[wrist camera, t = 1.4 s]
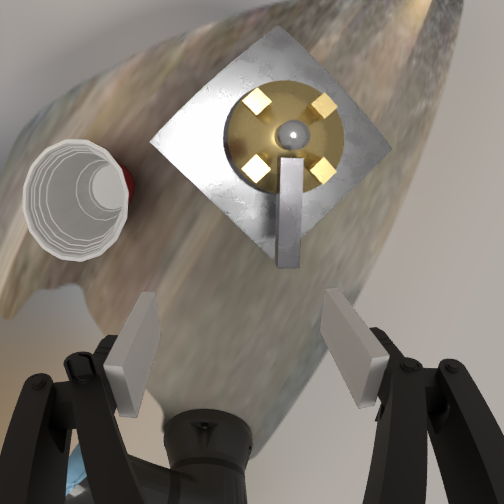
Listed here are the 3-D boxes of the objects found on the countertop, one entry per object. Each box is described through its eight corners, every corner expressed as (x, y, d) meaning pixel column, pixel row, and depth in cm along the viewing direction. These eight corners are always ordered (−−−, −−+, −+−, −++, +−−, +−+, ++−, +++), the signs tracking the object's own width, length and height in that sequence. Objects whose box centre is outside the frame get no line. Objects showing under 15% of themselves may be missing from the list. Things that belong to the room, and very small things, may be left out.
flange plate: (273, 258, 39) (278, 269, 35) (152, 142, 34) (143, 140, 30) (386, 148, 36) (402, 149, 32) (276, 29, 30) (282, 16, 27)
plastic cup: (161, 226, 37) (134, 259, 25) (82, 234, 36) (33, 266, 25) (153, 135, 33) (120, 127, 22) (72, 149, 33) (16, 151, 21)
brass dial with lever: (228, 85, 29) (229, 69, 23) (334, 91, 29) (356, 80, 24) (228, 252, 34) (228, 273, 28) (328, 251, 35) (347, 270, 29)
